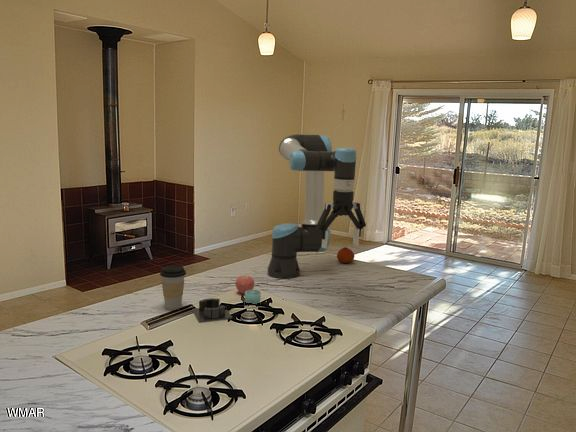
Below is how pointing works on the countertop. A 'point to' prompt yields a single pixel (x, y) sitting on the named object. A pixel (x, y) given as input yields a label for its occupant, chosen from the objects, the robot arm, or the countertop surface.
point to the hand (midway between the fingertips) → (340, 246)
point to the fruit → (345, 255)
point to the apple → (244, 283)
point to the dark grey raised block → (211, 311)
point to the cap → (252, 296)
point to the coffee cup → (173, 286)
